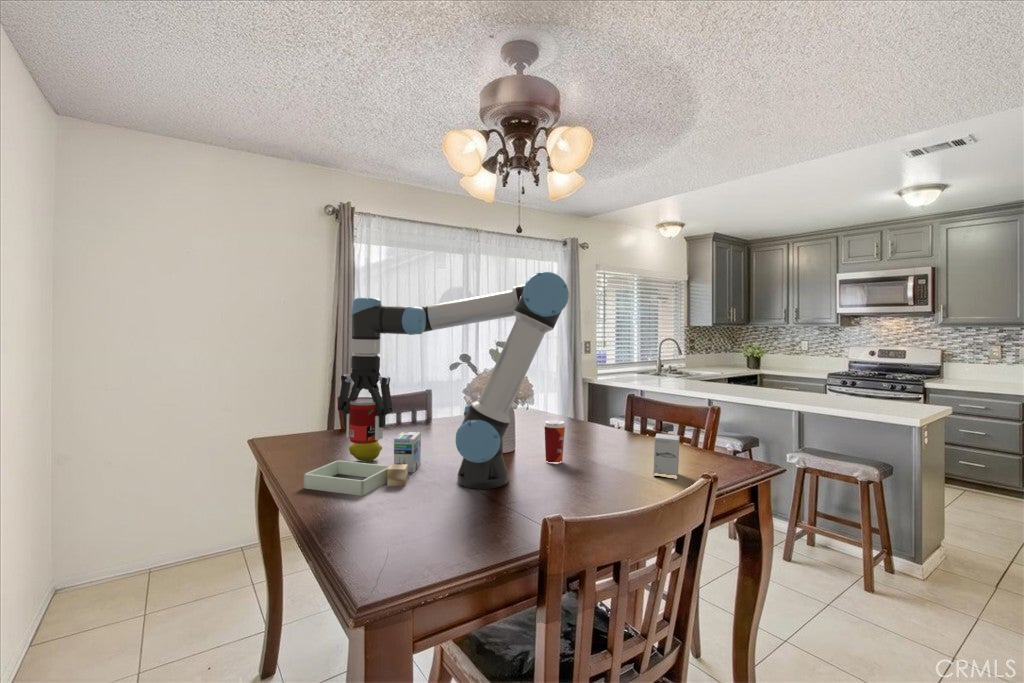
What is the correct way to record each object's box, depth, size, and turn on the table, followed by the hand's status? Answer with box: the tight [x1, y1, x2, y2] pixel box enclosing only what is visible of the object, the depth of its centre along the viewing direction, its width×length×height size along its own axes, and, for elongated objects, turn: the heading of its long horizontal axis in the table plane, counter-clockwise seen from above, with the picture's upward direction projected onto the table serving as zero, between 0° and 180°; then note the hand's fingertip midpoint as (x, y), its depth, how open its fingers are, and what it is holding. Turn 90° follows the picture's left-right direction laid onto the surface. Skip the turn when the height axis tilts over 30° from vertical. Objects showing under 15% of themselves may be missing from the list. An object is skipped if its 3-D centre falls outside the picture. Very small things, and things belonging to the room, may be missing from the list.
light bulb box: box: [393, 431, 422, 473], centre depth 158 cm, size 11×7×11 cm, turn 179°
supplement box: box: [653, 433, 681, 476], centre depth 154 cm, size 7×7×13 cm
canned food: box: [349, 398, 379, 444], centre depth 132 cm, size 8×8×11 cm
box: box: [303, 460, 390, 497], centre depth 141 cm, size 19×15×4 cm
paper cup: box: [543, 419, 566, 462], centre depth 167 cm, size 8×8×14 cm
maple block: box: [386, 463, 409, 487], centre depth 142 cm, size 5×5×5 cm
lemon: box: [348, 440, 383, 462], centre depth 165 cm, size 11×8×8 cm
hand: (364, 437), depth 132 cm, fingers closed on canned food, 8 cm apart
